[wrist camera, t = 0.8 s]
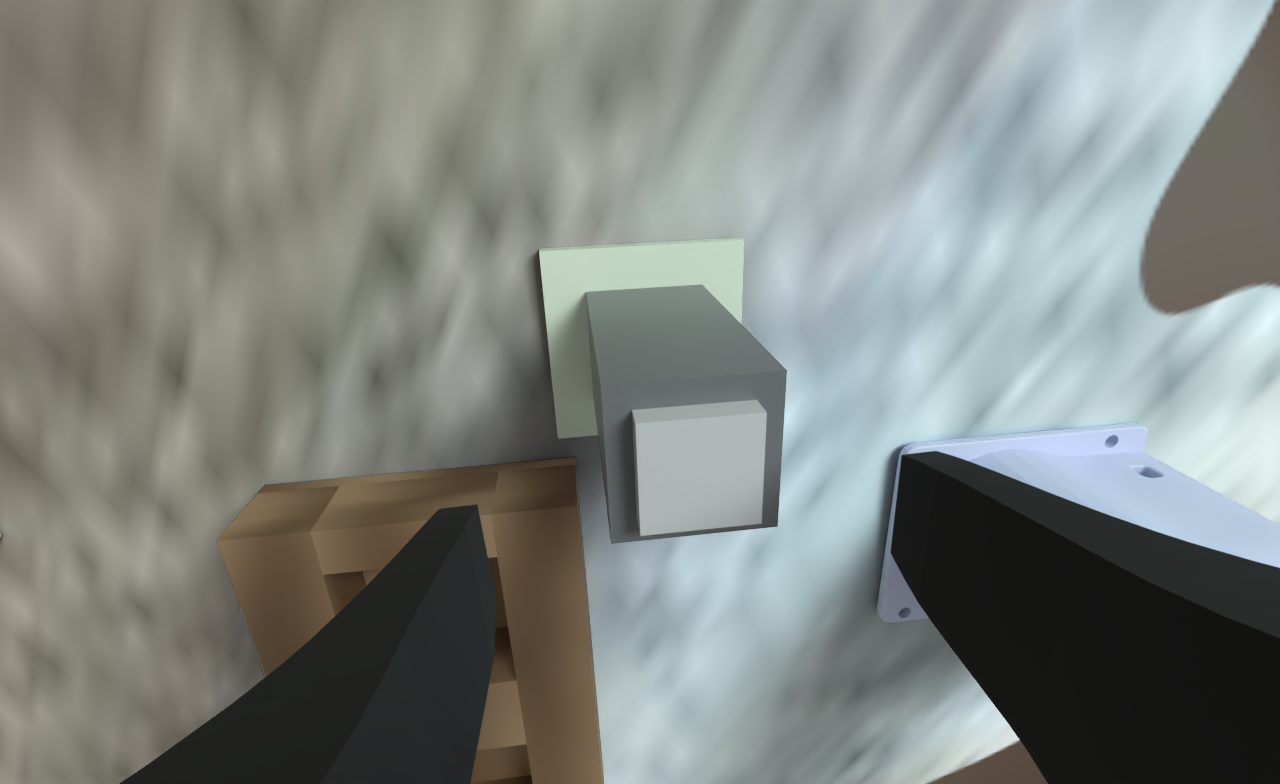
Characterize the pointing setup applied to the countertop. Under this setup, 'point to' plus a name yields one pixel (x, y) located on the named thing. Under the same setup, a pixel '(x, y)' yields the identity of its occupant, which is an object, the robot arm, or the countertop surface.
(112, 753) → the countertop surface
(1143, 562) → the robot arm
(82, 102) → the countertop surface
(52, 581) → the countertop surface
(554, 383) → the coaster
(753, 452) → the plug
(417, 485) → the divided box
